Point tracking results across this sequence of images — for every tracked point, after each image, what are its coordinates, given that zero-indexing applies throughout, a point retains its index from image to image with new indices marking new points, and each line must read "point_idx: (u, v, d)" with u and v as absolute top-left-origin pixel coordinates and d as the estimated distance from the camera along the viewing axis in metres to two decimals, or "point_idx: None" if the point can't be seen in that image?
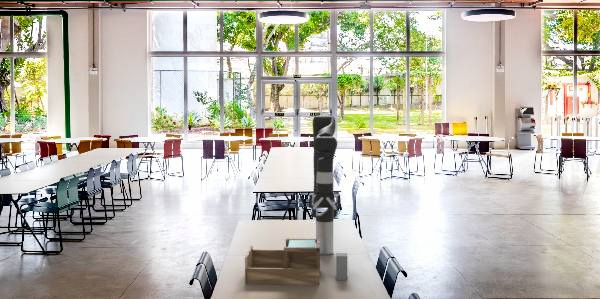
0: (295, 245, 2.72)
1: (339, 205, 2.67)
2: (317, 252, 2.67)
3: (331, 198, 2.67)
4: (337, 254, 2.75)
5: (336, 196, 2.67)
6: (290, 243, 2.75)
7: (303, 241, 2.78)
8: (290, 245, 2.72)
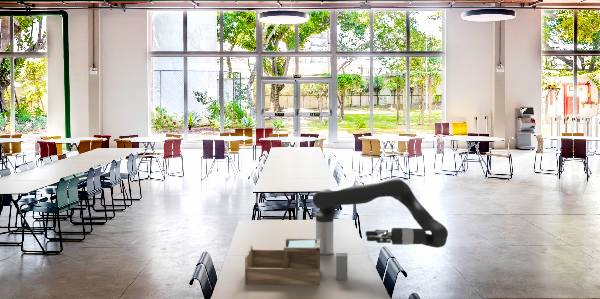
0: (295, 245, 2.72)
1: None
2: (317, 252, 2.67)
3: None
4: (337, 254, 2.75)
5: None
6: (290, 244, 2.75)
7: (303, 241, 2.78)
8: (290, 246, 2.72)
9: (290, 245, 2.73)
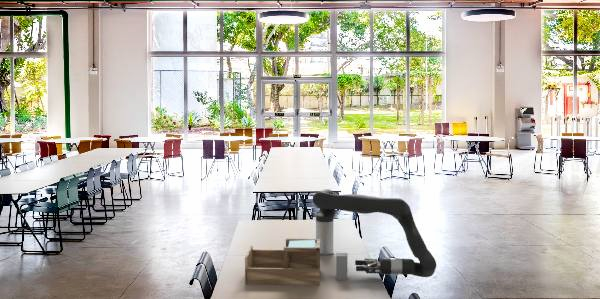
0: (295, 245, 2.72)
1: None
2: (317, 252, 2.67)
3: None
4: (337, 254, 2.75)
5: None
6: (290, 244, 2.75)
7: (303, 241, 2.78)
8: (290, 246, 2.72)
9: (290, 245, 2.73)
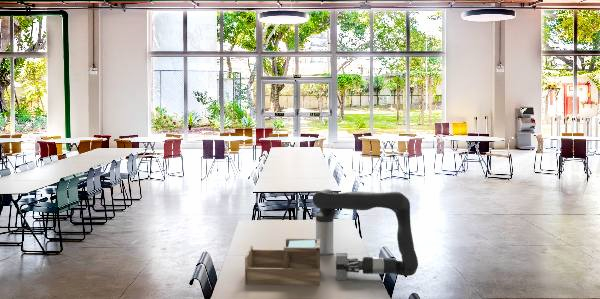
0: (295, 245, 2.72)
1: None
2: (317, 252, 2.67)
3: None
4: (337, 254, 2.75)
5: None
6: (290, 244, 2.75)
7: (303, 241, 2.78)
8: (290, 246, 2.72)
9: (290, 245, 2.73)
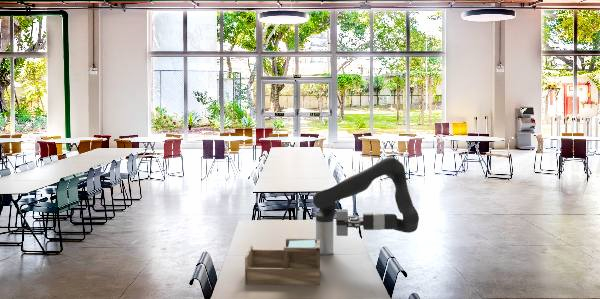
0: (295, 245, 2.72)
1: None
2: (317, 252, 2.67)
3: None
4: (337, 210, 2.72)
5: None
6: (290, 244, 2.75)
7: (303, 241, 2.78)
8: (290, 246, 2.72)
9: (290, 245, 2.73)
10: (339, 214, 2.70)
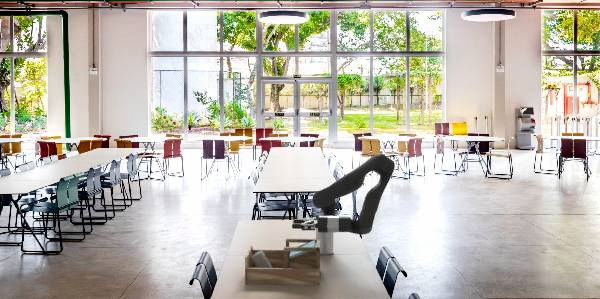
0: (296, 252, 2.72)
1: None
2: (317, 252, 2.67)
3: None
4: None
5: None
6: (291, 252, 2.76)
7: (303, 245, 2.79)
8: (291, 253, 2.72)
9: (291, 253, 2.73)
10: None
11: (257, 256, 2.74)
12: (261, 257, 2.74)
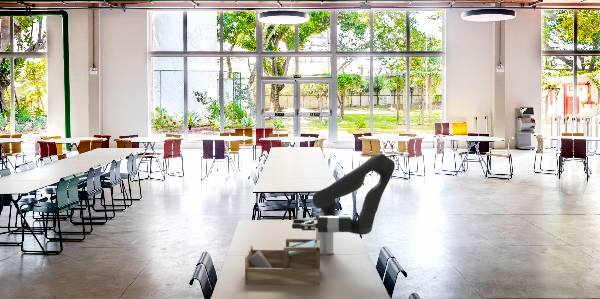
0: None
1: None
2: (317, 252, 2.67)
3: None
4: None
5: None
6: None
7: (303, 244, 2.78)
8: (291, 251, 2.72)
9: None
10: None
11: (255, 257, 2.74)
12: (259, 257, 2.74)
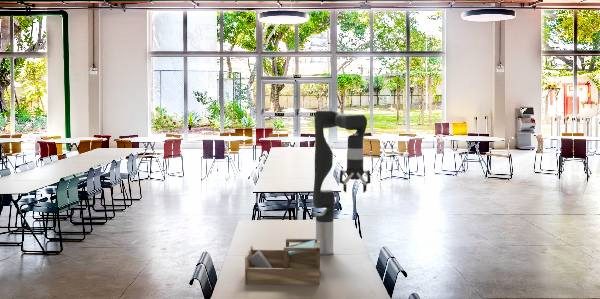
0: None
1: (369, 180, 2.78)
2: (317, 252, 2.67)
3: (361, 174, 2.78)
4: None
5: (366, 172, 2.79)
6: None
7: (303, 244, 2.78)
8: None
9: None
10: None
11: (255, 257, 2.74)
12: (259, 257, 2.74)
